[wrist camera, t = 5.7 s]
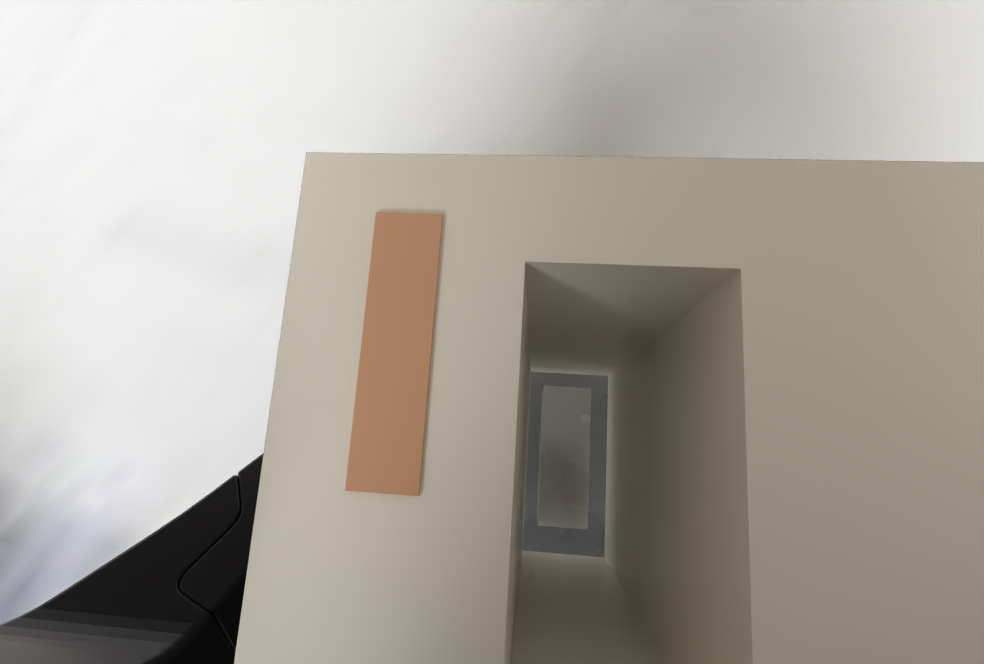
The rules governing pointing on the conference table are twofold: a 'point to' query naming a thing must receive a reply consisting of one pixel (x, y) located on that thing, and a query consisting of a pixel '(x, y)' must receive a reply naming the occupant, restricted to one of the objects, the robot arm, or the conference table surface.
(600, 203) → the beige slotted holder
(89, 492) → the conference table surface
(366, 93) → the conference table surface
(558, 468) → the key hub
